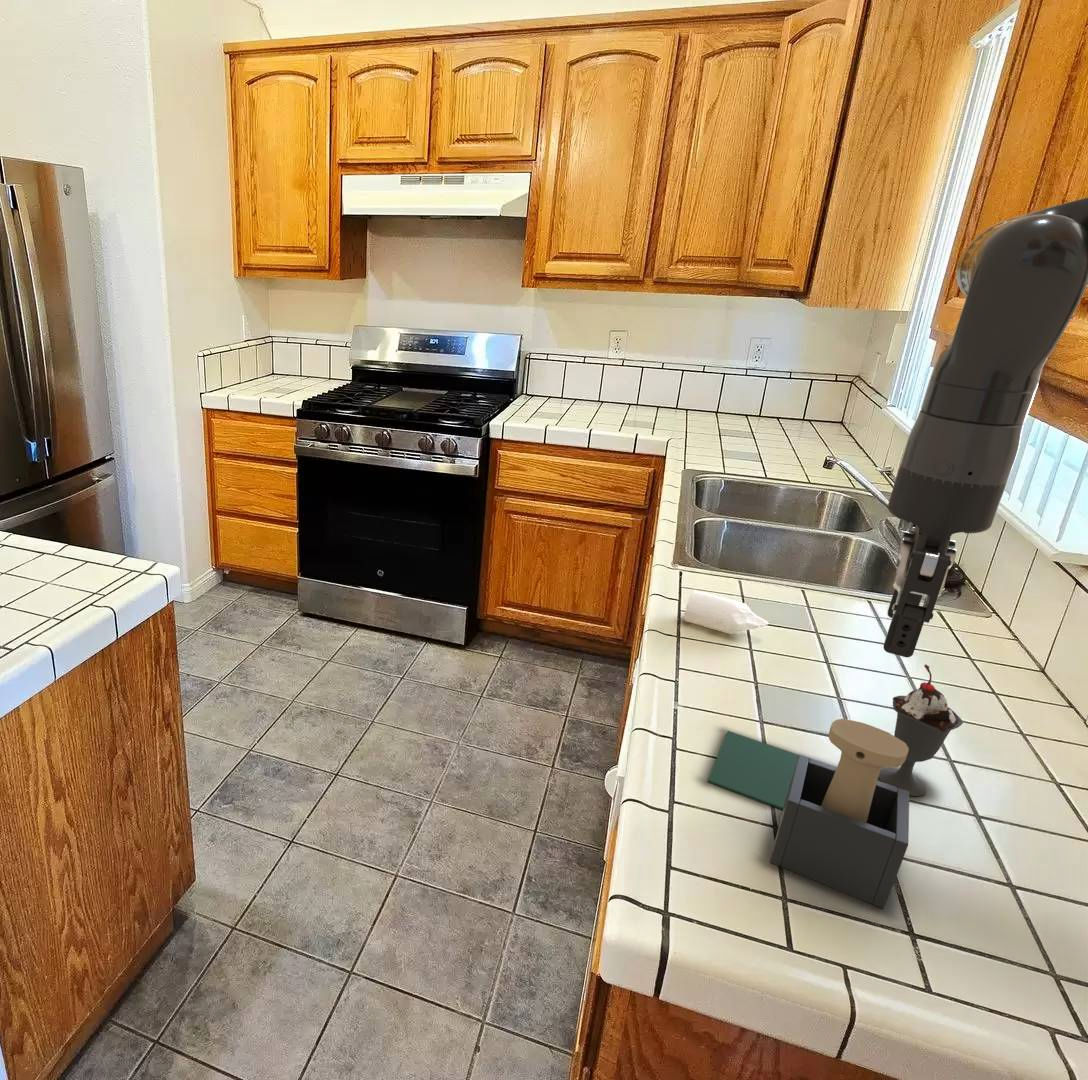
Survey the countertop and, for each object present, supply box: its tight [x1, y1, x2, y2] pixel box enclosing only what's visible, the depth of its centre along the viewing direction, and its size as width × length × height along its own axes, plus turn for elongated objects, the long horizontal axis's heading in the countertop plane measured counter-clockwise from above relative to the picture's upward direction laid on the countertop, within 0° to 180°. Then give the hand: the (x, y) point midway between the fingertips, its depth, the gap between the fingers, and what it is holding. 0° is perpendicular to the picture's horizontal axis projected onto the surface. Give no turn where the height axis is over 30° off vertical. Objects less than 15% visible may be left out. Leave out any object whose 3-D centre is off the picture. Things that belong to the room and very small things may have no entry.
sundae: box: [878, 663, 964, 797], centre depth 87 cm, size 7×7×15 cm
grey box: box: [769, 753, 910, 910], centre depth 77 cm, size 10×9×8 cm
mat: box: [707, 730, 799, 811], centre depth 90 cm, size 14×12×1 cm
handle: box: [821, 718, 909, 823], centre depth 76 cm, size 5×6×15 cm
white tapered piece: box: [683, 590, 769, 635], centre depth 123 cm, size 6×12×6 cm, turn 51°
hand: (898, 635), depth 71 cm, fingers open, 8 cm apart
